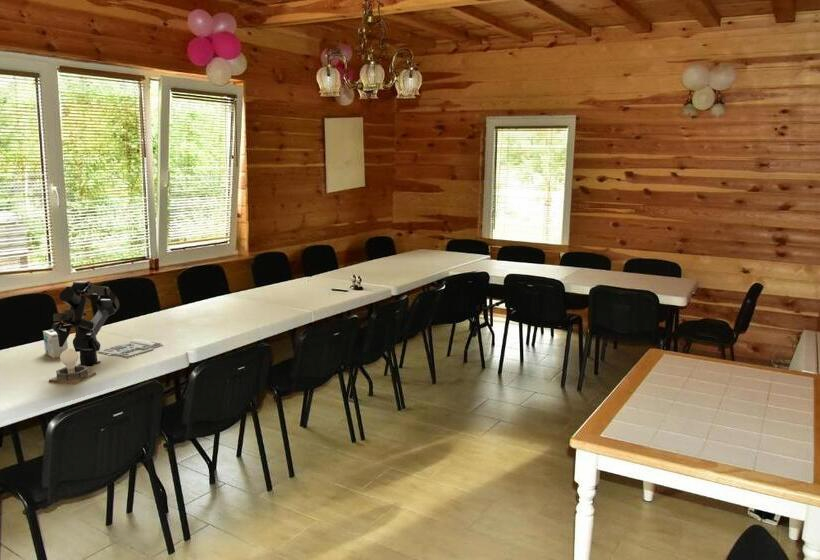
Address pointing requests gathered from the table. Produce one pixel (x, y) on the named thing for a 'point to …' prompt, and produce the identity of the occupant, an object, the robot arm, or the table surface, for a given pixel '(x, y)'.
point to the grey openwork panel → (131, 348)
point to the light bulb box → (53, 344)
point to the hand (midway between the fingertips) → (68, 346)
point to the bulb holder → (72, 375)
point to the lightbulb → (69, 359)
